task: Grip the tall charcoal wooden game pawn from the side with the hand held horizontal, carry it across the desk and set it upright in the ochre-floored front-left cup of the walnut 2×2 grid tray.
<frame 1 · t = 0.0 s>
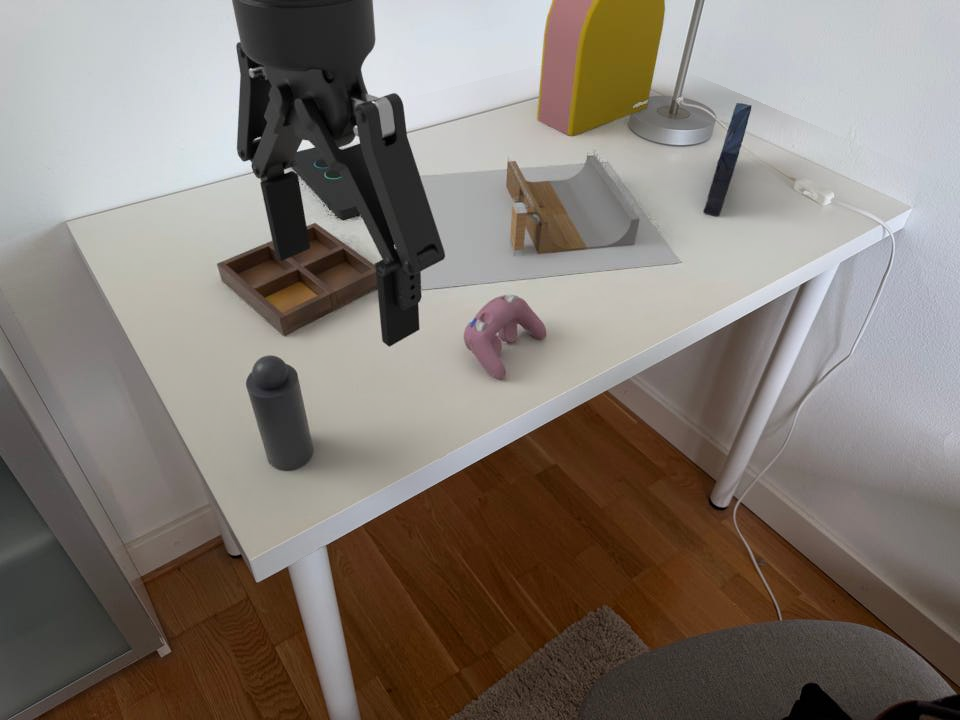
hand: (343, 291, 51), 21 cm above the table, tool pointing down, fingers open, 13 cm apart
grid: (302, 283, 87), on the table
smart home device: (337, 185, 105), on the table
video game controller: (504, 351, 79), on the table
pawn: (290, 452, 67), on the table
skate ramp: (527, 218, 100), on the table
yellow and pink slab: (593, 113, 127), on the table
vhs cassette tape: (718, 188, 108), on the table
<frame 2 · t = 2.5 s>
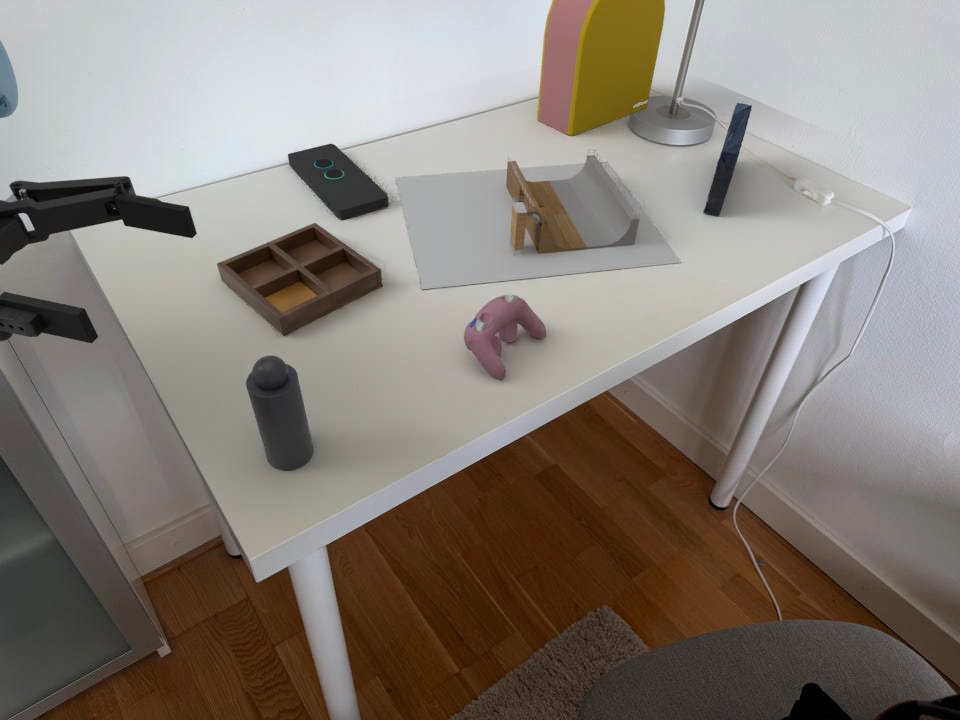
hand: (144, 270, 53), 21 cm above the table, tool horizontal, fingers open, 13 cm apart
nothing on the table moved.
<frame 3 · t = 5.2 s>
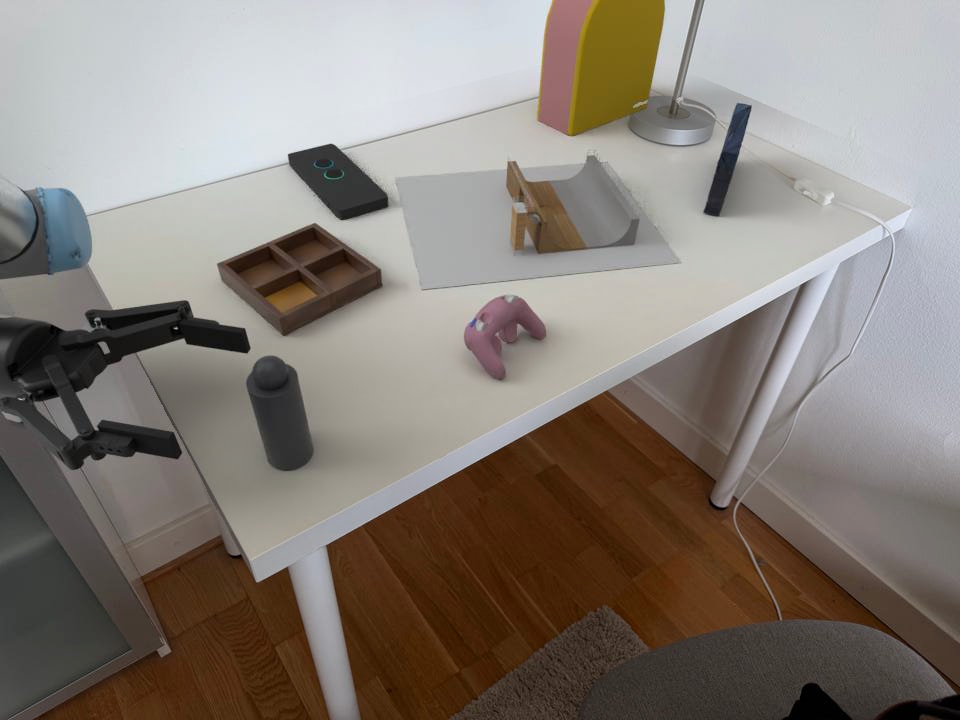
hand: (214, 389, 62), 7 cm above the table, tool horizontal, fingers open, 13 cm apart
nothing on the table moved.
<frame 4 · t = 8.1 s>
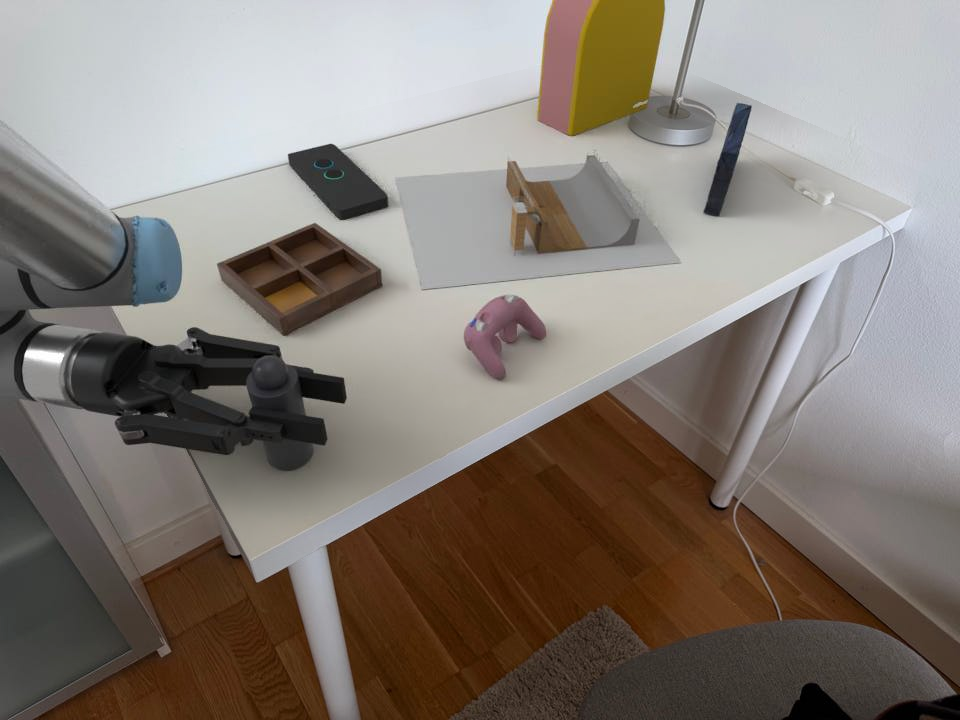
hand: (333, 410, 61), 7 cm above the table, tool horizontal, fingers closed on pawn, 4 cm apart
pawn: (290, 452, 67), on the table, touching gripper
everything else where it was.
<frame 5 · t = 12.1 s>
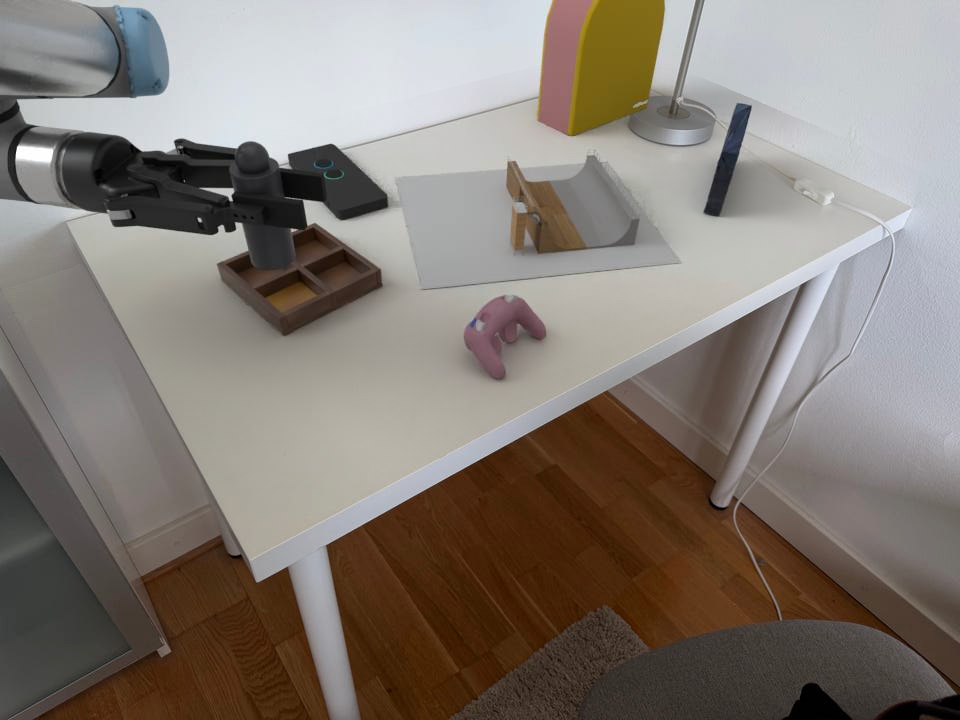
hand: (313, 201, 64), 19 cm above the table, tool horizontal, fingers closed on pawn, 4 cm apart
pawn: (273, 257, 69), point 12 cm above the table, touching gripper
everything else where it was.
when the fingers open (8 cm above the table, at t = 16.4 s): pawn stays where it is, resting on grid.
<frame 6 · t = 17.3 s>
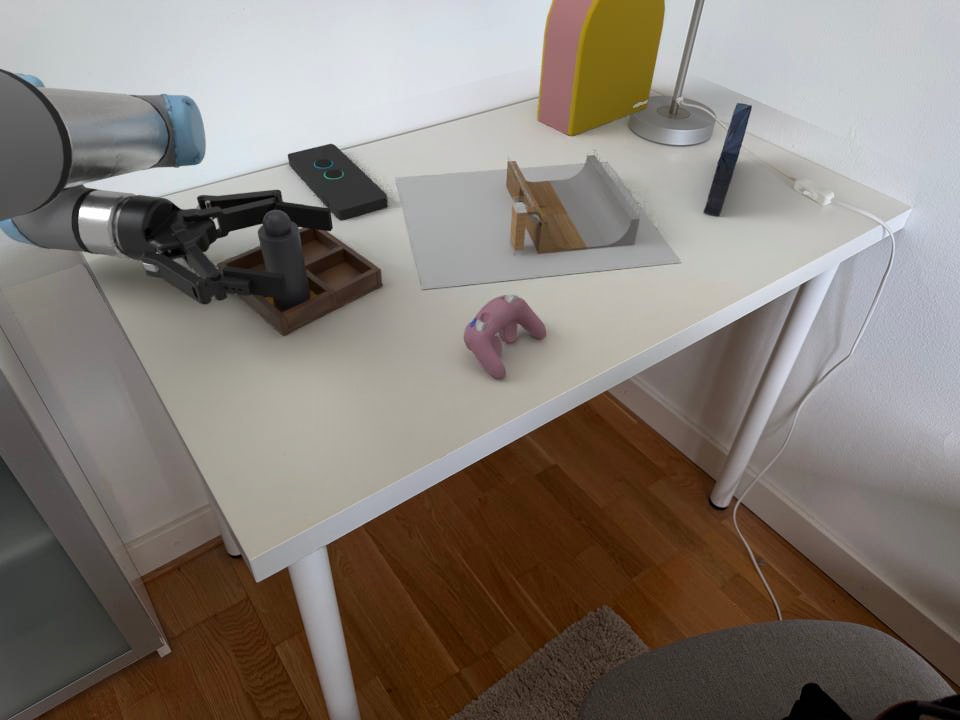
hand: (309, 251, 77), 9 cm above the table, tool horizontal, fingers open, 13 cm apart
pawn: (292, 301, 83), point 1 cm above the table, touching grid
everything else where it was.
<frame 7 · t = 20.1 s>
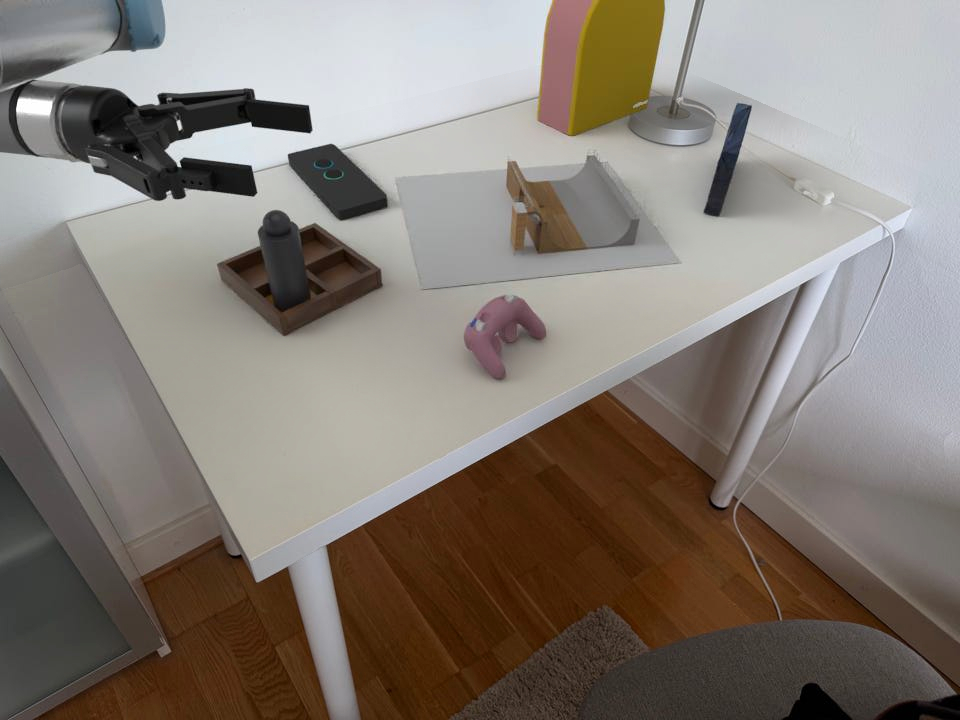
hand: (283, 148, 66), 22 cm above the table, tool horizontal, fingers open, 13 cm apart
nothing on the table moved.
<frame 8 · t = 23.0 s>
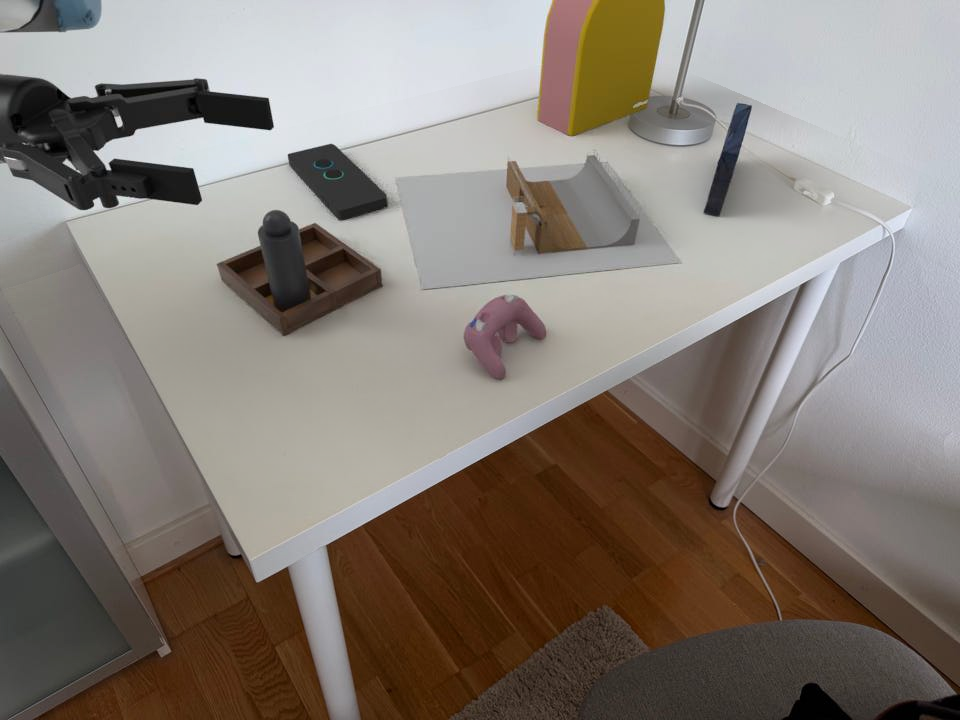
hand: (236, 147, 57), 26 cm above the table, tool horizontal, fingers open, 13 cm apart
nothing on the table moved.
at the end: pawn 0.0 cm from the target spot in the grid, point 0.8 cm above the grid's base; pawn tilted 0°; the gripper is holding nothing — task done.
